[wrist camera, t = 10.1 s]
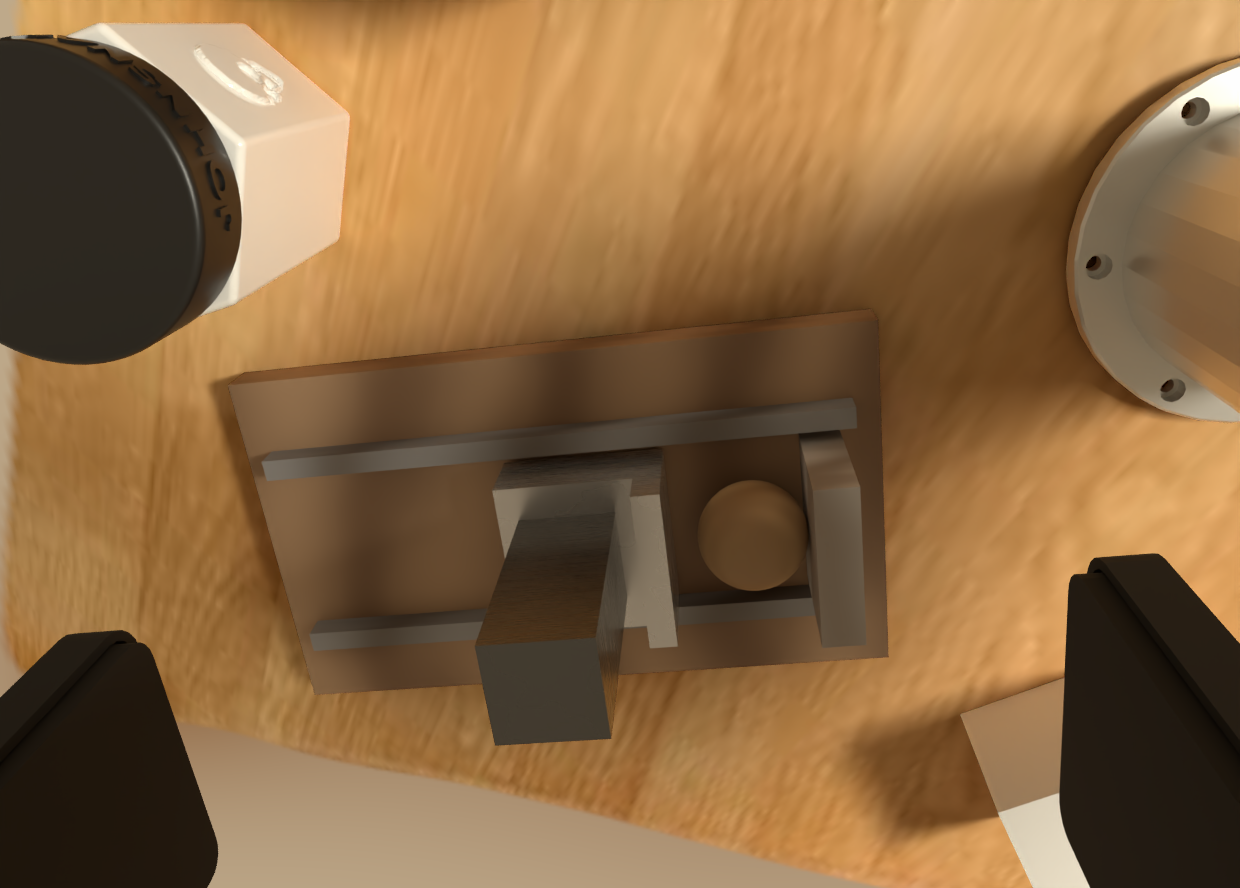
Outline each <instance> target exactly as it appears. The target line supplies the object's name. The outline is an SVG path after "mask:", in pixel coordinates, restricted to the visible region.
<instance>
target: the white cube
mask: <svg viewBox="0 0 1240 888" xmlns="http://www.w3.org/2000/svg"><path fill="white" fill-rule="evenodd" d="M1063 699H1064V678H1062V679H1059V680H1056V681H1053V682H1050V683H1047V684H1044V685H1042V686H1039V687H1036V688H1033V689H1030V690H1027V691H1025V692H1022V693H1019V694H1016V695H1013V696H1010V697H1007V698H1005V699H1002V700H999V701H996V702H993V703H990V704H987V705H985V706H982V707H979V708H976V709H973V710H970V711H968V712H965V713H962V714H960V716H961V718H962V721H963V724H964V726H965V729H966V731H967V734H968V737H969V739H970V742H971V744H972V747H973V750H974V752H975V755H976V757H977V760H978V762H979V765H980V768H981V770H982V773H983V775H984V778H985V781H986V783H987V786H988V788H989V791H990V794H991V796H992V799H993V801H994V804H995V807H996V809H997V812H998V814H999V816H1000V818H1001V821H1002V823H1003V825H1004V827H1005V829H1006V831H1007V833H1008V835H1009V838H1010V840H1011V842H1012V844H1013V846H1014V848H1015V850H1016V852H1017V855H1018V857H1019V859H1020V861H1021V863H1022V865H1023V867H1024V870H1025V872H1026V874H1027V876H1028V878H1029V880H1030V882H1031V884H1032V887H1033V888H1090V887H1089V885H1088V882H1087V880H1086V878H1085V876H1084V874H1083V872H1082V869H1081V867H1080V865H1079V863H1078V861H1077V858H1076V856H1075V854H1074V852H1073V850H1072V848H1071V845H1070V843H1069V841H1068V839H1067V836H1066V833H1065V830H1064V827H1063V823H1062V818H1061V813H1060V805H1059V788H1060V766H1061V744H1062V722H1063Z"/></svg>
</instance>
